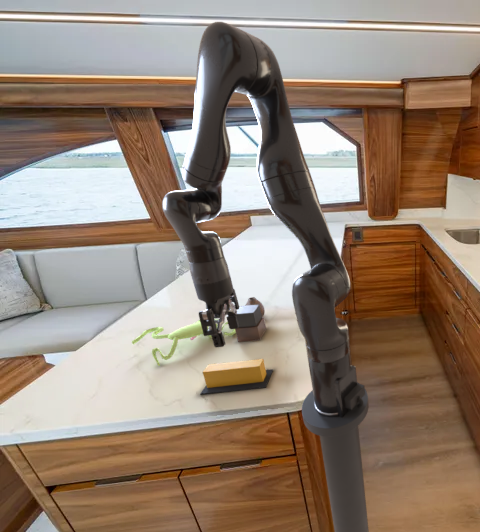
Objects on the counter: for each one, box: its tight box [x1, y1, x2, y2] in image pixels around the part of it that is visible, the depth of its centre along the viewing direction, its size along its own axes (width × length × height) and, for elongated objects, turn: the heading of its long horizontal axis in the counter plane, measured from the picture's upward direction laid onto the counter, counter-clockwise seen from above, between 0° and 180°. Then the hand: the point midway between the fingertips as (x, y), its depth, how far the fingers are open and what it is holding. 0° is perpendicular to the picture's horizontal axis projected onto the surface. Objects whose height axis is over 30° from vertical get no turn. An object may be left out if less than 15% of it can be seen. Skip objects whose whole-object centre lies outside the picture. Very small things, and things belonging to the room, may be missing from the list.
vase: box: [244, 296, 265, 317], centre depth 111 cm, size 7×7×9 cm
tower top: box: [236, 305, 262, 328], centre depth 99 cm, size 6×6×5 cm
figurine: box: [131, 318, 236, 367], centre depth 99 cm, size 18×27×6 cm
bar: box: [202, 358, 267, 388], centre depth 79 cm, size 14×3×5 cm, turn 97°
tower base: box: [235, 316, 267, 343], centre depth 101 cm, size 7×7×5 cm
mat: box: [199, 368, 274, 396], centre depth 80 cm, size 16×7×1 cm, turn 97°
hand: (227, 336), depth 75 cm, fingers open, 8 cm apart
